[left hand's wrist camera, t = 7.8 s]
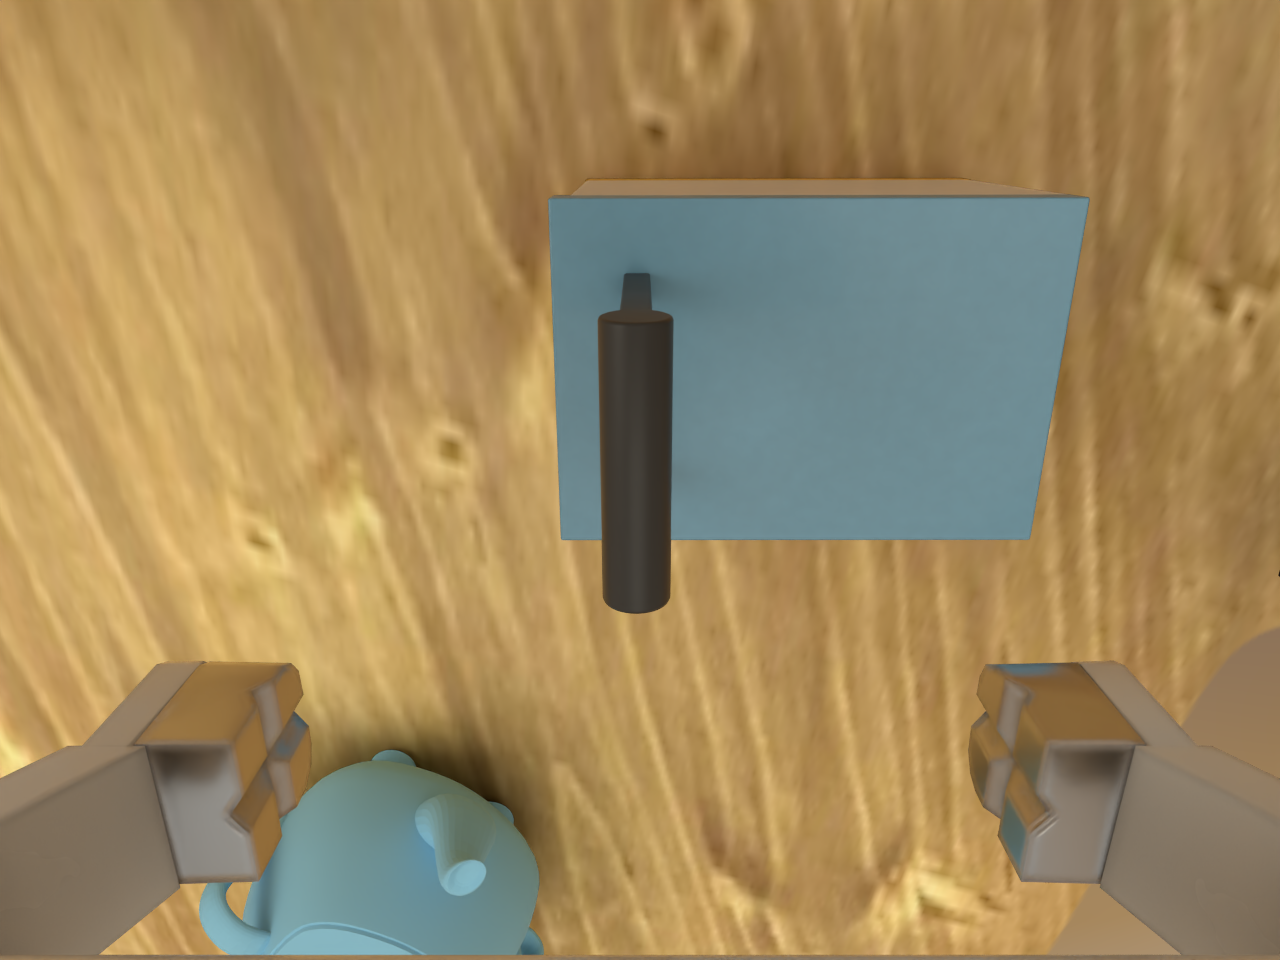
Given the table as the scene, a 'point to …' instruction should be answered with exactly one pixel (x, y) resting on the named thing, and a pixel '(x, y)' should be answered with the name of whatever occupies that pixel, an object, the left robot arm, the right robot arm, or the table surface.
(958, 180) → the chest
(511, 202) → the table surface
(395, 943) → the teapot
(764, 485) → the lid
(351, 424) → the table surface
